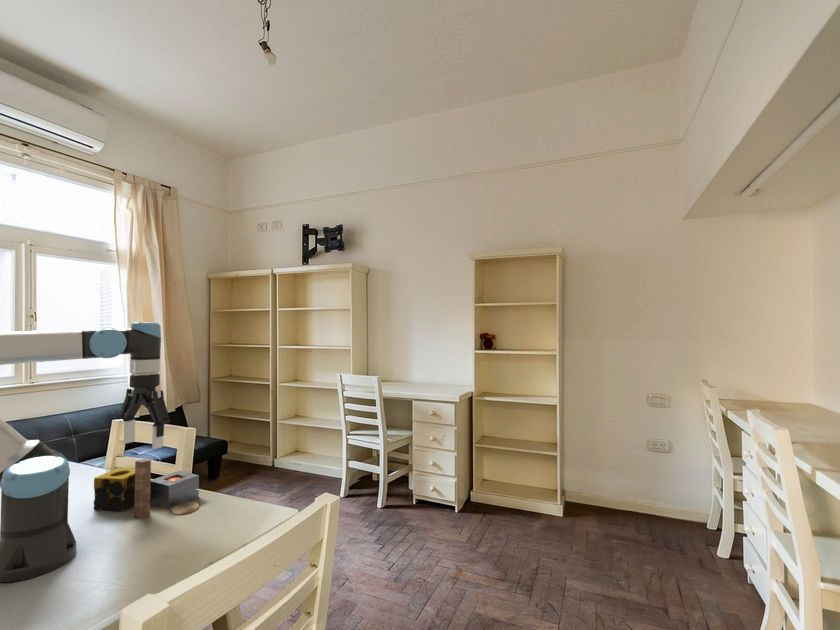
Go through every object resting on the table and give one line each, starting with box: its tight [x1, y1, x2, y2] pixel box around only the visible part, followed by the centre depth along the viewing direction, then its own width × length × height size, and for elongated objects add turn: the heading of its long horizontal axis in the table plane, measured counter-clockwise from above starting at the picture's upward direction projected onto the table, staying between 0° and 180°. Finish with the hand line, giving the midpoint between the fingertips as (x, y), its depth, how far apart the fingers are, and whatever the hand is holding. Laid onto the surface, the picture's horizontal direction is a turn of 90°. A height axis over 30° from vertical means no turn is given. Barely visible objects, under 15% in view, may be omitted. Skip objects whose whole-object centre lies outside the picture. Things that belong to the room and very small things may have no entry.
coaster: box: [171, 502, 199, 516], centre depth 124 cm, size 7×7×1 cm
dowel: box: [133, 458, 152, 519], centre depth 121 cm, size 3×3×16 cm
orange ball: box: [167, 477, 181, 482], centre depth 131 cm, size 4×4×4 cm
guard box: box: [150, 470, 200, 510], centre depth 131 cm, size 10×10×7 cm
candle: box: [93, 466, 135, 512], centre depth 128 cm, size 10×10×10 cm
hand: (143, 445), depth 121 cm, fingers open, 13 cm apart
